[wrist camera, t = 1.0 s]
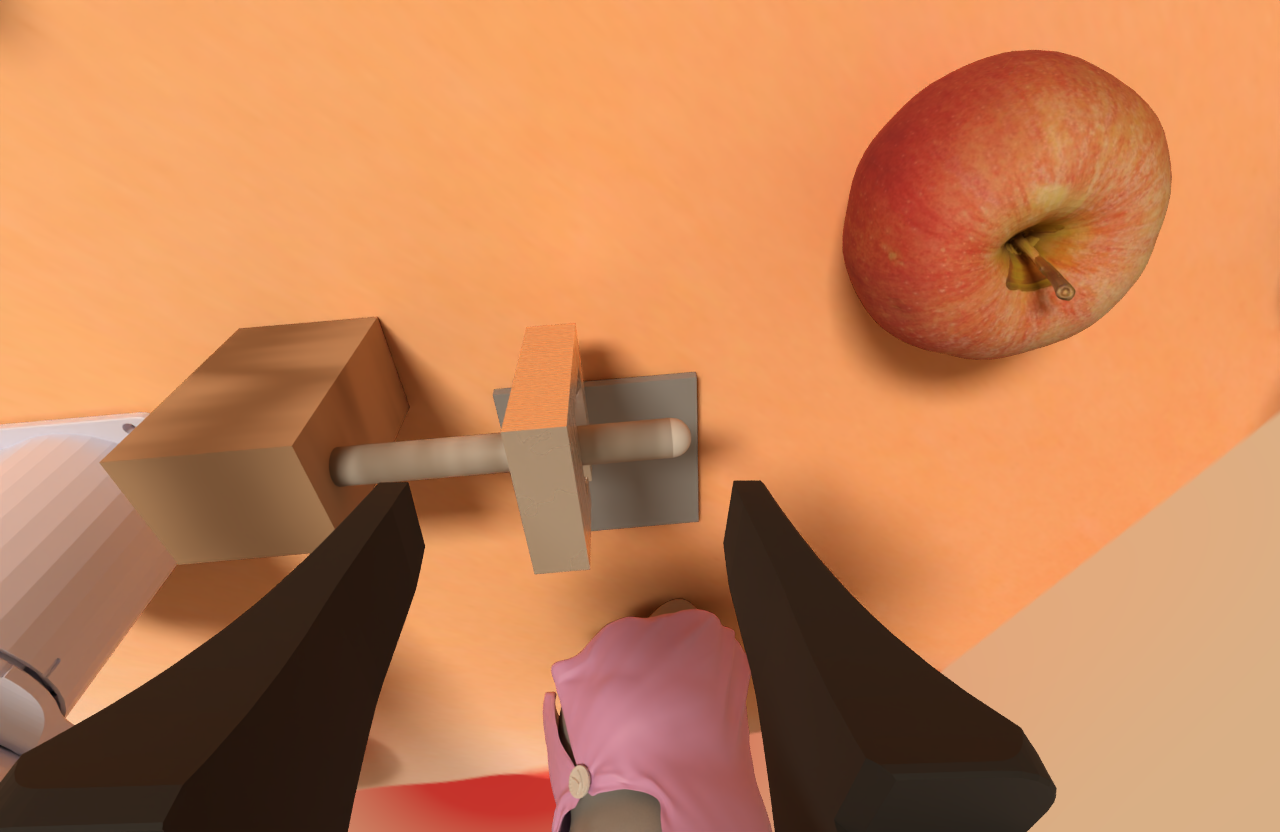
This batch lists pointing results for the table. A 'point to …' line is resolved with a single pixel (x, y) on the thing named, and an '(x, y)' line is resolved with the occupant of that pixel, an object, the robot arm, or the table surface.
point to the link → (550, 449)
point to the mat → (647, 484)
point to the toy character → (654, 729)
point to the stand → (305, 443)
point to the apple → (1007, 205)
